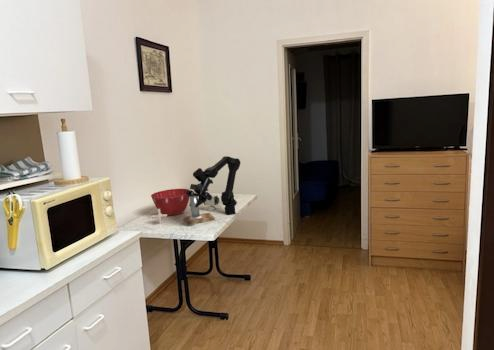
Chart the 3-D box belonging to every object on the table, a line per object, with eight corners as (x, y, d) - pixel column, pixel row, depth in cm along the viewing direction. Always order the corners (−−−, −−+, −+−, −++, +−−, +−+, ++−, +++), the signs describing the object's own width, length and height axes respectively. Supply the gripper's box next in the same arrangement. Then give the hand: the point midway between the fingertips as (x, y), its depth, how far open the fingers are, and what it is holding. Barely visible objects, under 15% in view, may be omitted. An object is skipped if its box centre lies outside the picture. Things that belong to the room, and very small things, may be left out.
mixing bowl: (171, 220, 256) (169, 198, 253) (145, 216, 273) (142, 195, 271) (200, 210, 278) (198, 190, 275) (174, 206, 295) (172, 187, 293)
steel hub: (198, 214, 240) (196, 194, 238) (200, 216, 235) (198, 196, 233) (190, 215, 238) (188, 195, 236) (192, 217, 234) (190, 197, 231)
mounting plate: (209, 215, 262) (209, 212, 262) (214, 220, 249) (214, 216, 249) (184, 219, 256) (183, 216, 256) (188, 224, 243) (187, 221, 243)
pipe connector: (153, 222, 256) (152, 207, 254) (168, 220, 256) (167, 206, 255) (151, 226, 246) (149, 211, 244) (166, 225, 247) (165, 210, 245)
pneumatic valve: (217, 211, 270) (216, 195, 268) (203, 211, 275) (201, 195, 273) (221, 209, 276) (219, 193, 274) (206, 209, 280) (205, 193, 278)
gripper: (186, 177, 242) (175, 198, 235) (207, 179, 230) (195, 201, 223) (196, 187, 249) (185, 207, 242) (217, 189, 237) (206, 210, 231)
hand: (192, 206), depth 235 cm, fingers closed on steel hub, 5 cm apart
